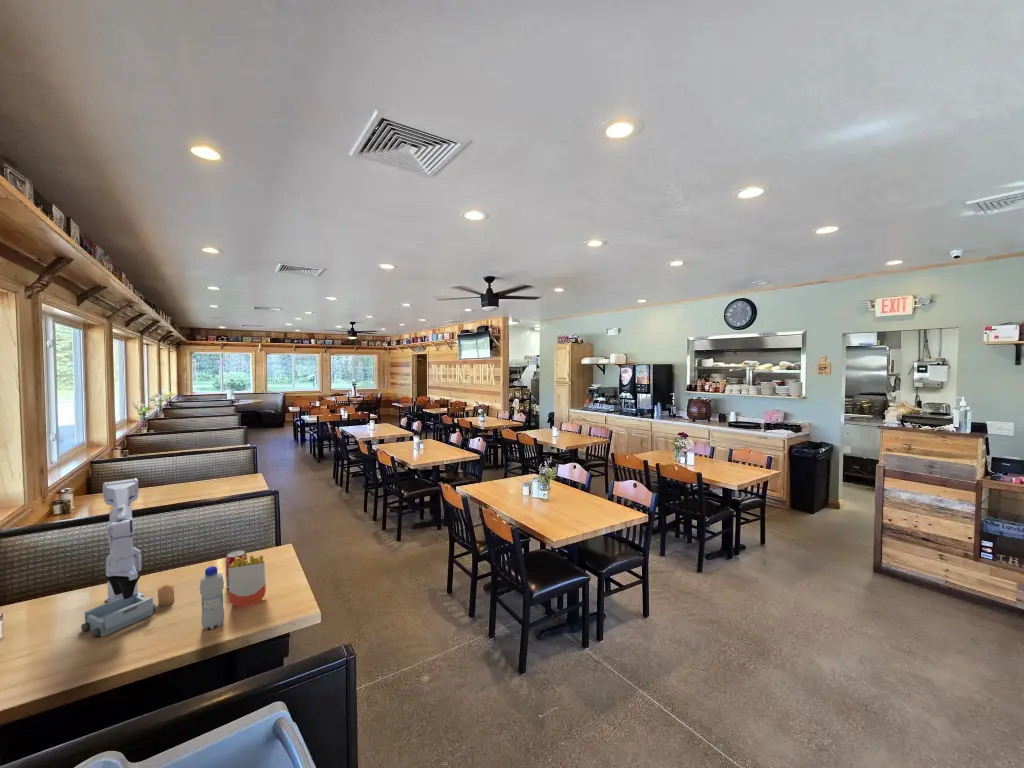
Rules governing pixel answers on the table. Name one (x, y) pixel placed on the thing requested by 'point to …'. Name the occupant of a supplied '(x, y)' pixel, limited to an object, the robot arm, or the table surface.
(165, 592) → the tan hollow cylinder
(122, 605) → the box
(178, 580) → the table surface
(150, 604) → the panel
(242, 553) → the soda can
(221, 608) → the bottle
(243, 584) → the french fries container
